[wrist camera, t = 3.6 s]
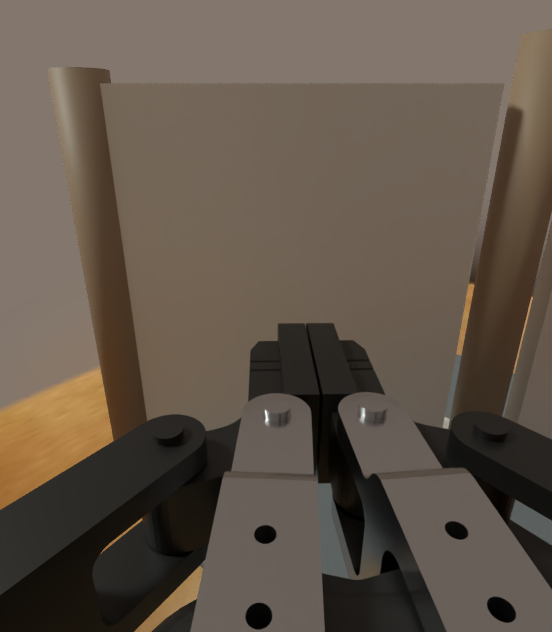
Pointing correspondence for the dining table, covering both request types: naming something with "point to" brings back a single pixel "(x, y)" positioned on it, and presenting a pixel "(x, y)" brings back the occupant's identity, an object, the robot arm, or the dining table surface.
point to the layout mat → (328, 537)
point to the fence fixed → (516, 260)
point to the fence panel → (271, 229)
